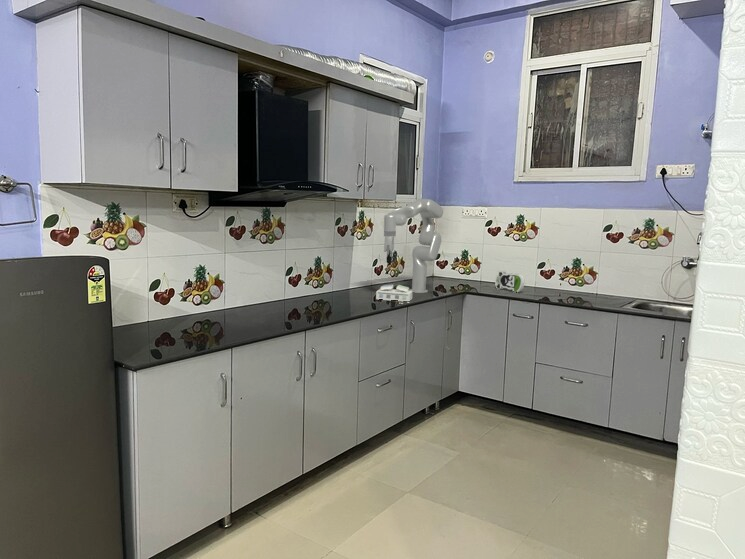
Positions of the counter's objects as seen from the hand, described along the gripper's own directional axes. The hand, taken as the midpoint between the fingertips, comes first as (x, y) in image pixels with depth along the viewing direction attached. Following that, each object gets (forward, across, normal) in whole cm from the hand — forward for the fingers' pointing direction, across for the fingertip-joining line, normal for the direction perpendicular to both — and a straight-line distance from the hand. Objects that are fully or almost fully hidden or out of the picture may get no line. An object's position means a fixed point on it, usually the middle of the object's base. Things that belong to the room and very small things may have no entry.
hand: (389, 262), depth 354 cm
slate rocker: (+15, +6, 0) cm, 16 cm away
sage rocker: (+15, +6, +10) cm, 19 cm away
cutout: (+27, -64, +78) cm, 105 cm away
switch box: (+22, +6, +5) cm, 23 cm away
